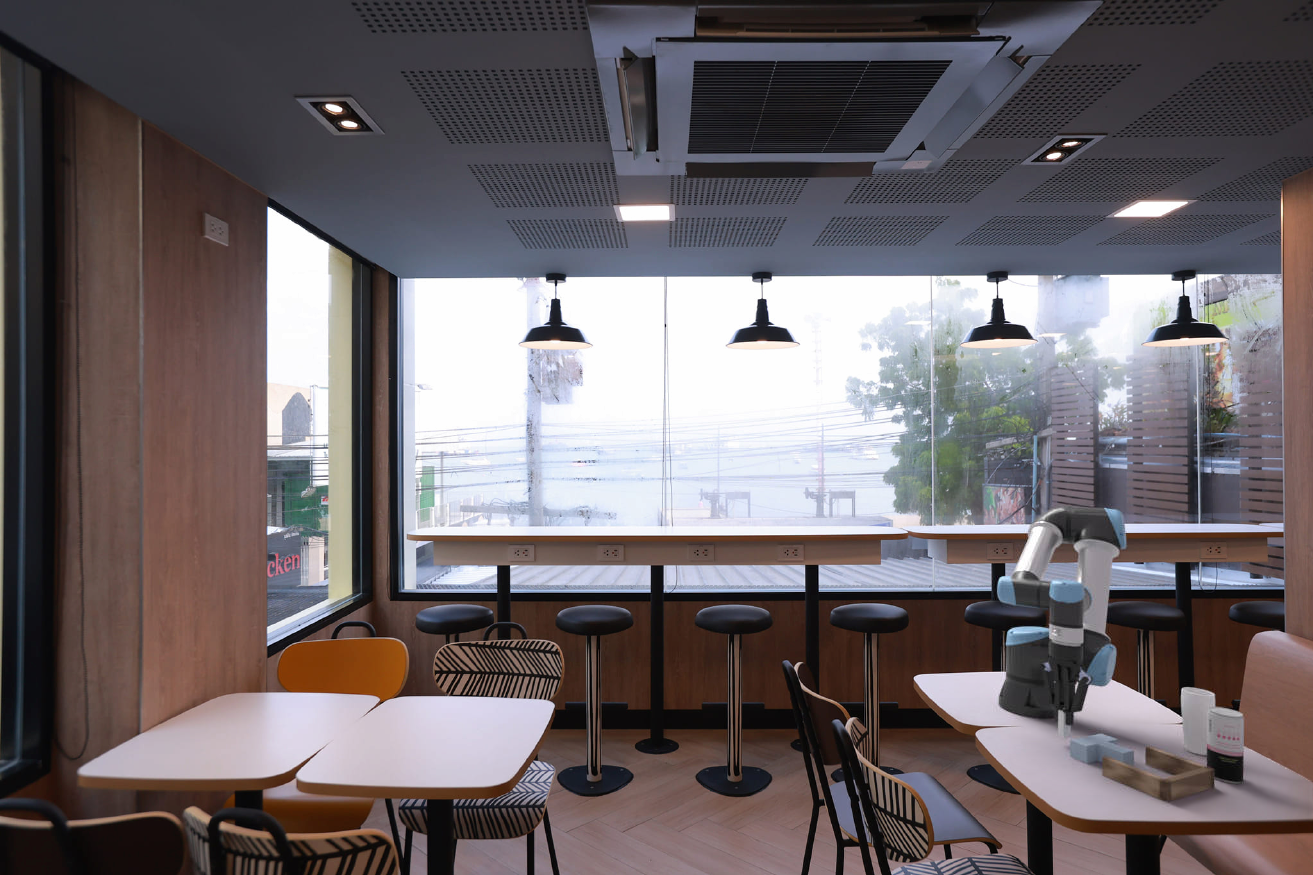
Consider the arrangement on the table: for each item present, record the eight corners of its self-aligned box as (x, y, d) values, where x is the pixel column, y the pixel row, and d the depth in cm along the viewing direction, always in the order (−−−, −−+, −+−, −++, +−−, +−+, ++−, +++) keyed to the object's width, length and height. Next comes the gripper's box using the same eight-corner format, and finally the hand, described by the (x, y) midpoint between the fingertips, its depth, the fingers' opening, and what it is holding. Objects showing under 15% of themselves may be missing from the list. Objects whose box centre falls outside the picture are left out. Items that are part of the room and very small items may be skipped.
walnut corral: (1102, 774, 159) (1102, 757, 159) (1149, 762, 167) (1149, 745, 167) (1167, 801, 147) (1167, 782, 147) (1214, 787, 155) (1214, 769, 155)
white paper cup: (1220, 759, 171) (1221, 697, 172) (1189, 755, 172) (1190, 694, 173) (1205, 748, 178) (1205, 688, 178) (1174, 745, 179) (1175, 685, 180)
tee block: (1070, 756, 169) (1070, 740, 169) (1101, 749, 174) (1101, 733, 175) (1112, 773, 160) (1112, 755, 160) (1143, 765, 165) (1143, 748, 166)
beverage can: (1205, 768, 165) (1206, 704, 166) (1241, 776, 161) (1242, 710, 162) (1207, 778, 160) (1208, 711, 160) (1244, 786, 156) (1245, 718, 156)
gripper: (1032, 637, 182) (1030, 729, 181) (1081, 649, 170) (1079, 748, 169) (1051, 635, 185) (1049, 725, 184) (1101, 647, 173) (1099, 744, 172)
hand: (1064, 736), depth 177 cm, fingers closed
